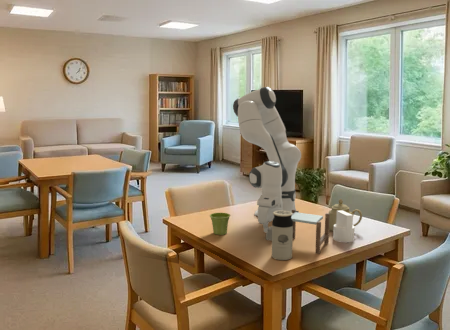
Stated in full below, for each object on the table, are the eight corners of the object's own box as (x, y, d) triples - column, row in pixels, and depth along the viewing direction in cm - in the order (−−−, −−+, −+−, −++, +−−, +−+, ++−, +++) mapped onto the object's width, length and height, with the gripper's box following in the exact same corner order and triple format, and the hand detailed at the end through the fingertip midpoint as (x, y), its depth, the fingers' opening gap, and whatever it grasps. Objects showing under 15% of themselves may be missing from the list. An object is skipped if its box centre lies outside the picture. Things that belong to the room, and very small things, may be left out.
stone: (265, 240, 199) (266, 229, 199) (269, 236, 204) (270, 226, 203) (276, 241, 197) (276, 230, 196) (280, 238, 202) (280, 227, 201)
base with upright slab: (358, 241, 198) (359, 214, 196) (339, 243, 195) (341, 216, 193) (347, 235, 206) (348, 209, 204) (329, 237, 204) (330, 211, 202)
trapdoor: (280, 221, 190) (280, 216, 189) (288, 215, 199) (289, 211, 199) (315, 227, 183) (316, 222, 183) (322, 220, 193) (323, 215, 192)
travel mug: (273, 252, 183) (274, 209, 180) (293, 254, 181) (294, 211, 178) (269, 259, 175) (270, 214, 173) (290, 261, 173) (291, 216, 170)
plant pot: (215, 237, 202) (215, 218, 201) (206, 231, 211) (206, 213, 209) (233, 234, 207) (233, 216, 205) (224, 229, 215) (224, 211, 214)
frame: (280, 247, 189) (280, 217, 187) (292, 237, 203) (292, 209, 201) (319, 254, 181) (320, 222, 179) (328, 242, 196) (329, 213, 194)
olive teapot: (358, 226, 220) (359, 196, 217) (361, 233, 209) (363, 202, 207) (326, 225, 222) (328, 195, 219) (328, 232, 211) (330, 200, 208)
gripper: (273, 193, 208) (272, 222, 210) (255, 202, 190) (254, 233, 192) (286, 195, 205) (285, 224, 207) (269, 204, 188) (268, 236, 190)
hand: (270, 229), depth 200 cm, fingers open, 8 cm apart
